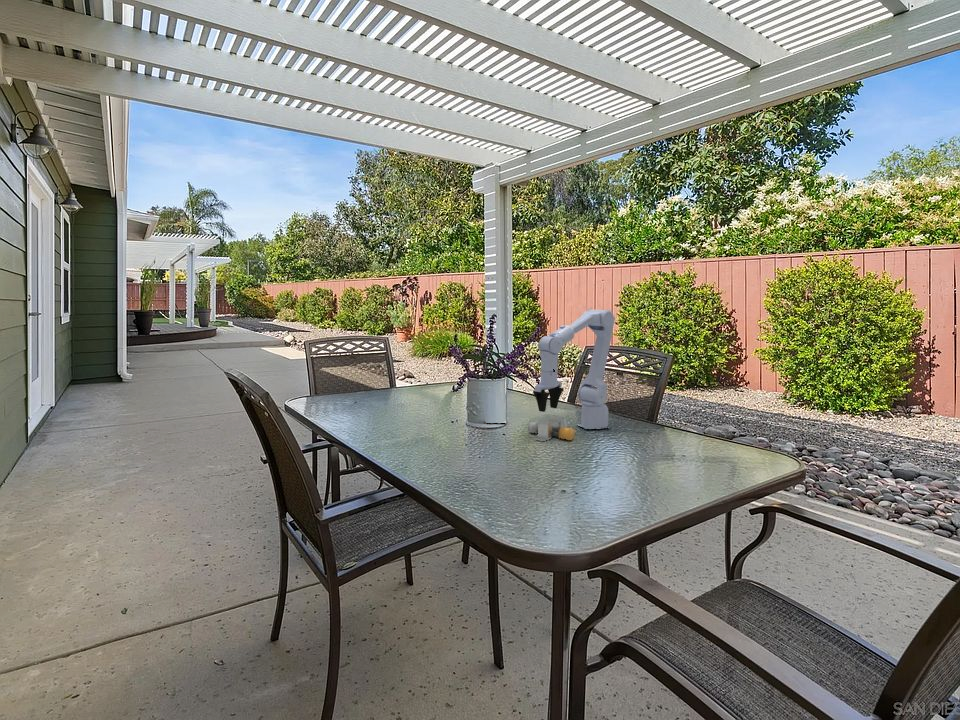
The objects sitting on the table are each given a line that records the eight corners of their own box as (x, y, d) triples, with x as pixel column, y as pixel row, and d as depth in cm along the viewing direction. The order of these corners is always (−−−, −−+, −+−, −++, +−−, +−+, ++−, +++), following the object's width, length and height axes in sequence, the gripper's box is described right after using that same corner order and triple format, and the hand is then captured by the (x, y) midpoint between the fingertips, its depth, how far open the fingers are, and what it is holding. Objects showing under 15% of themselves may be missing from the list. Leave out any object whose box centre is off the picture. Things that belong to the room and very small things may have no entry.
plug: (527, 433, 195) (527, 422, 195) (533, 431, 199) (534, 420, 198) (568, 441, 185) (569, 429, 185) (574, 439, 189) (575, 427, 188)
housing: (533, 440, 187) (534, 421, 186) (557, 431, 199) (557, 414, 199) (544, 442, 185) (544, 423, 184) (566, 433, 197) (567, 415, 196)
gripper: (550, 367, 198) (548, 404, 200) (527, 372, 187) (526, 411, 189) (567, 369, 194) (566, 407, 196) (545, 374, 183) (544, 414, 184)
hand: (547, 409), depth 192 cm, fingers open, 7 cm apart
